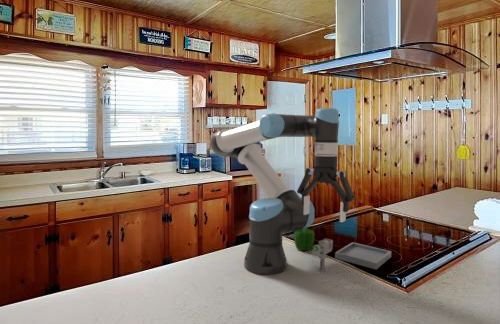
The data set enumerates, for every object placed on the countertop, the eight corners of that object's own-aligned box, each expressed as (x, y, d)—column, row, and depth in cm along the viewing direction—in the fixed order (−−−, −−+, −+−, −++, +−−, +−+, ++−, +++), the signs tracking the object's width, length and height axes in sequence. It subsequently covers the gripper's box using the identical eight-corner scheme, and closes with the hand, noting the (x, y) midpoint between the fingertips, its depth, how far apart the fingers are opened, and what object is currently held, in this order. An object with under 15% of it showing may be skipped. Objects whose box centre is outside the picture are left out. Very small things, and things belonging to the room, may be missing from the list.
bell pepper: (311, 245, 139) (312, 222, 138) (316, 252, 131) (317, 227, 130) (291, 245, 138) (292, 222, 137) (295, 252, 130) (295, 227, 129)
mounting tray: (334, 258, 125) (335, 252, 124) (352, 247, 136) (352, 242, 136) (376, 269, 115) (376, 263, 114) (391, 256, 126) (391, 251, 126)
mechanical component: (310, 273, 111) (311, 244, 110) (326, 264, 118) (326, 237, 117) (318, 276, 109) (318, 246, 108) (333, 267, 116) (334, 239, 115)
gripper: (288, 153, 115) (287, 213, 117) (357, 158, 99) (354, 227, 101) (299, 152, 121) (298, 209, 123) (367, 156, 105) (364, 222, 107)
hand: (323, 217), depth 112 cm, fingers open, 13 cm apart
